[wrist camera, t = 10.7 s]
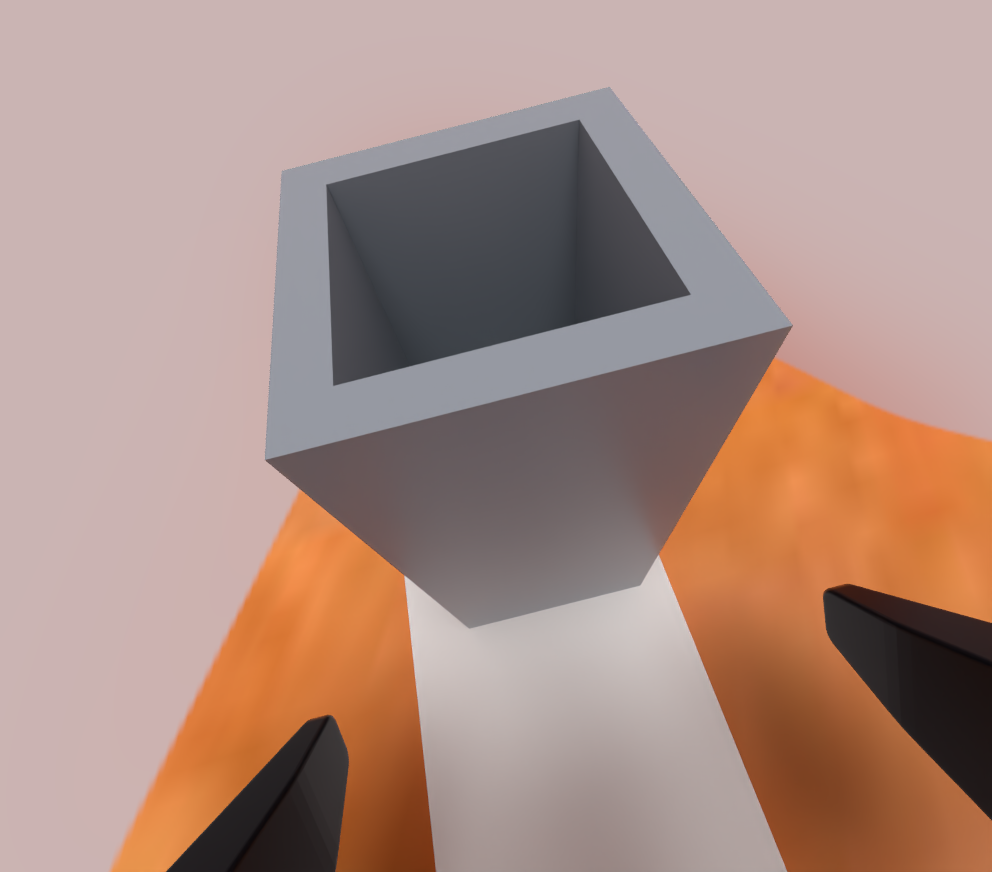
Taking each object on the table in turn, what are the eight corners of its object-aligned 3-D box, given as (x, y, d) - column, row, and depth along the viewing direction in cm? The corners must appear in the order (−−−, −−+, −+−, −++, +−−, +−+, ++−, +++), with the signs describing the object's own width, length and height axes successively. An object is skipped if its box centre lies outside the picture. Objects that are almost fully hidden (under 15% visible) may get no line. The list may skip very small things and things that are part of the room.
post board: (814, 980, 12) (962, 1142, 7) (472, 1065, 12) (416, 1277, 7) (591, 413, 21) (598, 334, 17) (401, 462, 21) (357, 396, 17)
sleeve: (640, 585, 16) (793, 324, 5) (469, 628, 16) (265, 459, 5) (585, 438, 19) (609, 87, 8) (442, 475, 19) (281, 170, 8)
